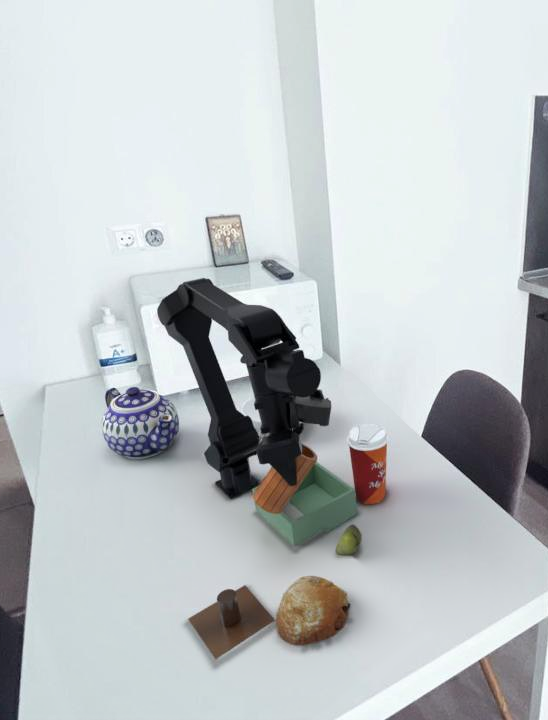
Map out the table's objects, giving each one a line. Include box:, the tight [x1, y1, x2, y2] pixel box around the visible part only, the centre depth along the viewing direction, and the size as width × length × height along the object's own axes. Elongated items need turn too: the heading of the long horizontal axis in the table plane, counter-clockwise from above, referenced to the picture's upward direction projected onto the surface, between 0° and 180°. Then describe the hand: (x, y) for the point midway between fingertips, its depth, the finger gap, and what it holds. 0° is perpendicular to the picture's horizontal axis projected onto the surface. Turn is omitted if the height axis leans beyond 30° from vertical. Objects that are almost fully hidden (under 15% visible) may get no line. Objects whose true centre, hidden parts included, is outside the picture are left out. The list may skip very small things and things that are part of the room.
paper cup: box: [346, 423, 390, 505], centre depth 102 cm, size 8×8×14 cm
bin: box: [251, 461, 358, 547], centre depth 99 cm, size 13×13×6 cm
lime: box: [335, 523, 363, 556], centre depth 90 cm, size 4×5×5 cm
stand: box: [187, 584, 276, 661], centre depth 77 cm, size 9×9×6 cm
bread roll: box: [275, 575, 351, 646], centre depth 78 cm, size 10×10×8 cm
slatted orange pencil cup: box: [252, 443, 318, 514], centre depth 90 cm, size 5×5×11 cm
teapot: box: [101, 386, 180, 460], centre depth 118 cm, size 25×15×15 cm, turn 53°
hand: (294, 477), depth 90 cm, fingers closed on slatted orange pencil cup, 5 cm apart
